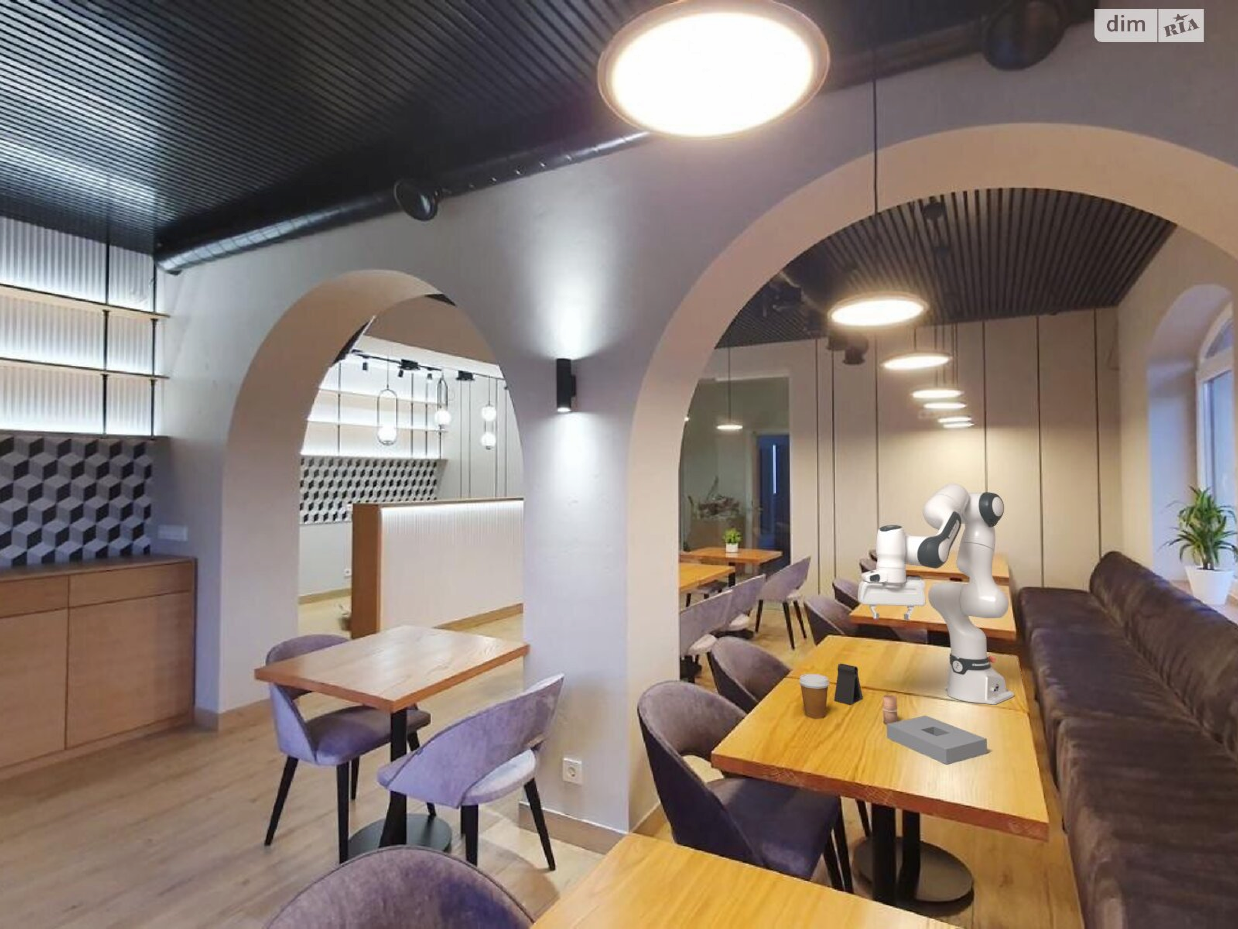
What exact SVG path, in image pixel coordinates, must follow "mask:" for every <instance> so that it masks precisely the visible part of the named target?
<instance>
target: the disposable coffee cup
mask: <svg viewBox="0 0 1238 929" xmlns="http://www.w3.org/2000/svg"><path fill="white" fill-rule="evenodd" d="M798 682H799V685H800V689H801V697H802V704H803V709H804V710H803V711H804V715H805V716H806V717H808V718H811V719H823V718H825V717H826V709H827V700H828V690H829V686H830V681H829V678H828V677H827V676H825V675H822V674H817V673H806V674H802V675H800V677H799V680H798Z"/></svg>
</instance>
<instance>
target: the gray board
mask: <svg viewBox="0 0 1238 929" xmlns="http://www.w3.org/2000/svg"><path fill="white" fill-rule="evenodd" d="M886 739H888V740H890V741H893V742H895V743H898V744H900V745H901V746H904V747H907V748H908V749H911V750H913V751H915V752H917V753H919V754H921V755H924V756H926V757H929V758H930V759H933V760H935V761H937V762H939V763H941V764H944V765H946V766H947V765H950V764H954V763H958V762H962V761H965V760H969V759H972V758H973V759H974V758H976V757H980V756H983V755H986V754H988V739H987V738H985V737H983V736H980V735H977V734H976V733H974V732H973V733H972V732H970V731H968V730H965V729H963V728H959V727H957V726H954V725H951V724H948V723H946V722H944V721H941V720H939V719H936V718H934V717H930V716H928V715H926V714H925V715H922V716H917V717H913V718H908V719H904V720H900V721H897V722H894V723H890V724H887V725H886Z"/></svg>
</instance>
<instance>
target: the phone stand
mask: <svg viewBox="0 0 1238 929" xmlns="http://www.w3.org/2000/svg"><path fill="white" fill-rule="evenodd" d="M863 699H864V697H863V693H862V688H861V683H860V678H859V668H858V666H854V665H850V664H845V663H838V666H837V677H836V684H835V692H834V699H833V701H834V702H835V703H837V702H838V703H840V704H844V705H848V706H852V705H854V704H857V703H858V702H860V701H863Z"/></svg>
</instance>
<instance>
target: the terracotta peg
mask: <svg viewBox="0 0 1238 929" xmlns="http://www.w3.org/2000/svg"><path fill="white" fill-rule="evenodd" d="M882 713H883V715H882V716H883V723H884V725H886V726H887V724H890V723H894V722H898V699H897V697H896V696H894V695H889V694H888V695H887V694H886V695H885V694H884V695H883V696H882Z"/></svg>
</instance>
